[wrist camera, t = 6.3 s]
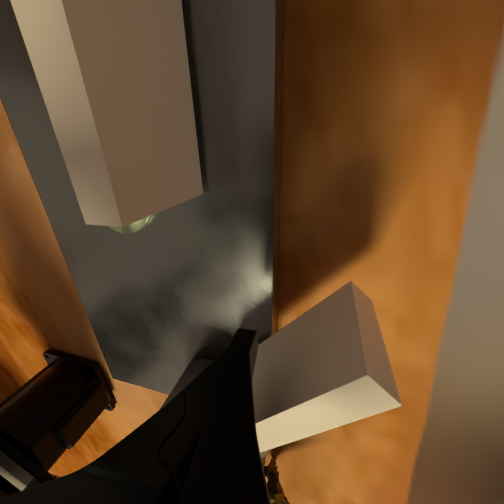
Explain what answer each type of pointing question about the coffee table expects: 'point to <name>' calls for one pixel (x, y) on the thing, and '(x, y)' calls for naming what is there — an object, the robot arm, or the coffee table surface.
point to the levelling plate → (184, 214)
